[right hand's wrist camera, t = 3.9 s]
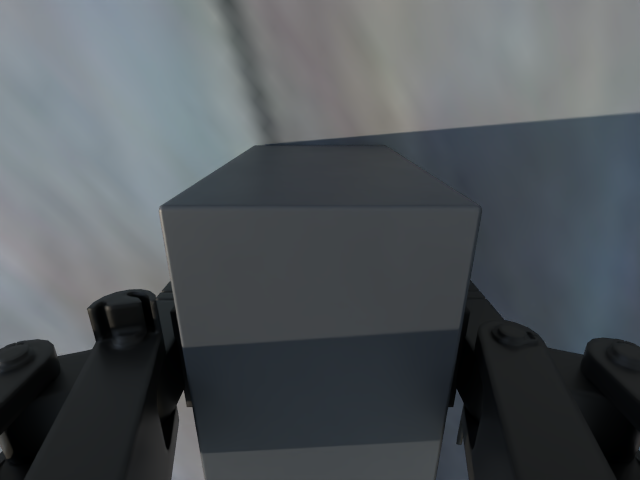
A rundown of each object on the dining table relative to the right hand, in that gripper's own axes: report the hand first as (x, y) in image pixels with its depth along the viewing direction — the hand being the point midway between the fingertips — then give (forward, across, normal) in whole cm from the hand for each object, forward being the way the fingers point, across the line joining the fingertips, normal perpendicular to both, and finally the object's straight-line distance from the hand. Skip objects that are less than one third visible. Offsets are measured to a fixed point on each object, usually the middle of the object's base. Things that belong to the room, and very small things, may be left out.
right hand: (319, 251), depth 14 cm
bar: (+1, 0, -26) cm, 26 cm away
